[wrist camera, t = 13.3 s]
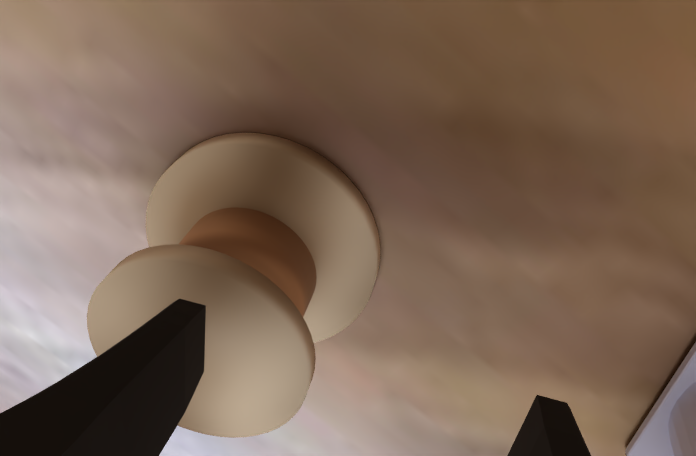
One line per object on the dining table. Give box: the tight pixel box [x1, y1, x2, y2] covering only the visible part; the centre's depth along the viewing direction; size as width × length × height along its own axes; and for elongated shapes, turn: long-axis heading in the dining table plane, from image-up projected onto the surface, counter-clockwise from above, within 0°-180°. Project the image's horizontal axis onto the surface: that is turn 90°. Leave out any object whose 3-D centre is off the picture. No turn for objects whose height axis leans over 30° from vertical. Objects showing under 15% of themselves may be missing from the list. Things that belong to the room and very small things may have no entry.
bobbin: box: [87, 133, 380, 437], centre depth 21 cm, size 9×9×6 cm
